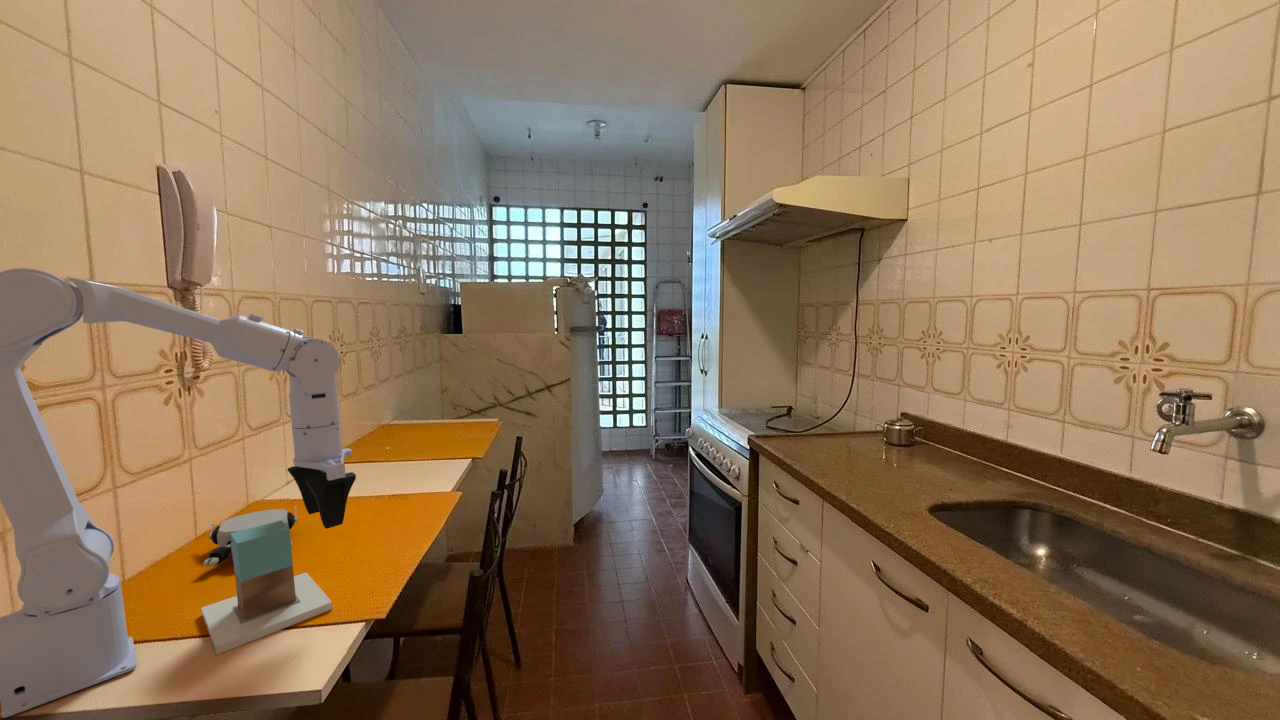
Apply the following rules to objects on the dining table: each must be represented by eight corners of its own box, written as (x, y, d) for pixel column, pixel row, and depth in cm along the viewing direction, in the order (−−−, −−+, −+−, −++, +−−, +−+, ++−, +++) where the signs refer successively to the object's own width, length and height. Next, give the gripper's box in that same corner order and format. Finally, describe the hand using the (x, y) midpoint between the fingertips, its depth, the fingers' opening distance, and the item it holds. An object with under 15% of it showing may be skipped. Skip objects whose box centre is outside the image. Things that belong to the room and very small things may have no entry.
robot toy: (297, 561, 84) (298, 524, 96) (295, 535, 83) (296, 501, 96) (200, 584, 77) (215, 541, 90) (196, 557, 77) (211, 517, 89)
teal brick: (241, 582, 64) (237, 543, 63) (234, 570, 67) (230, 533, 66) (292, 565, 68) (289, 529, 67) (284, 554, 71) (280, 520, 70)
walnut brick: (244, 619, 64) (240, 581, 64) (238, 606, 67) (234, 569, 67) (296, 601, 68) (292, 565, 68) (287, 589, 71) (284, 554, 71)
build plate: (217, 654, 59) (216, 645, 59) (202, 614, 67) (201, 606, 67) (332, 609, 68) (332, 601, 68) (306, 578, 76) (306, 571, 76)
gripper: (366, 425, 69) (374, 523, 70) (332, 413, 79) (339, 498, 80) (306, 436, 64) (315, 540, 65) (277, 421, 74) (286, 512, 75)
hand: (324, 518), depth 72 cm, fingers open, 7 cm apart
